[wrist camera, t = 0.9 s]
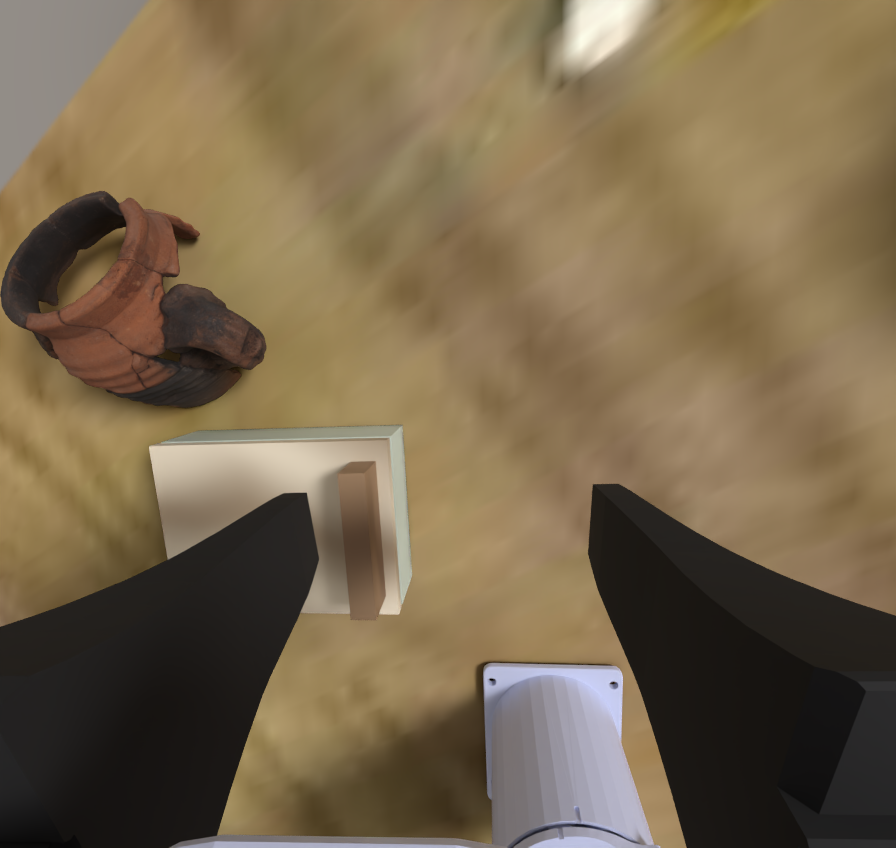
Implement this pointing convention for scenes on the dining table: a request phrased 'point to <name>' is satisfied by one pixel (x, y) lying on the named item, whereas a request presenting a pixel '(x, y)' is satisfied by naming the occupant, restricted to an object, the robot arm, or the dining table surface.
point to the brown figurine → (128, 308)
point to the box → (338, 433)
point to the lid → (330, 500)
